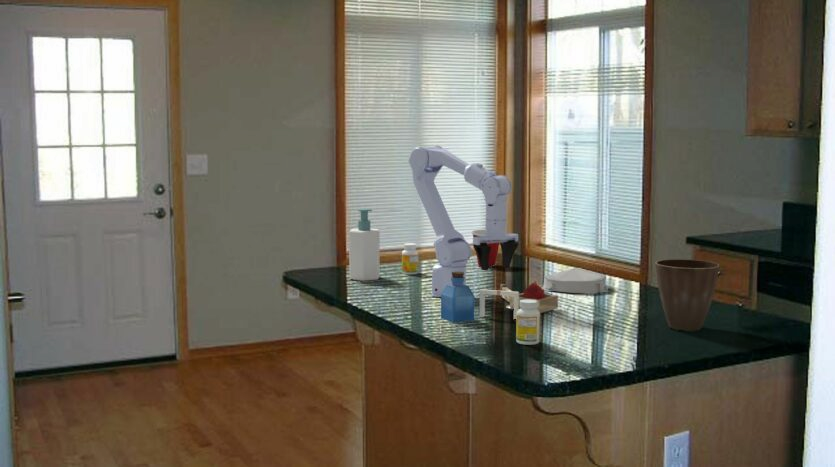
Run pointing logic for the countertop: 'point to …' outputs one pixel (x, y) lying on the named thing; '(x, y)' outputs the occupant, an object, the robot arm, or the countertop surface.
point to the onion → (534, 292)
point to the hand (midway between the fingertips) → (495, 268)
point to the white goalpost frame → (498, 292)
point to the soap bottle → (364, 250)
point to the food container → (575, 281)
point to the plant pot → (686, 291)
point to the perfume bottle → (457, 300)
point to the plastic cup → (494, 245)
